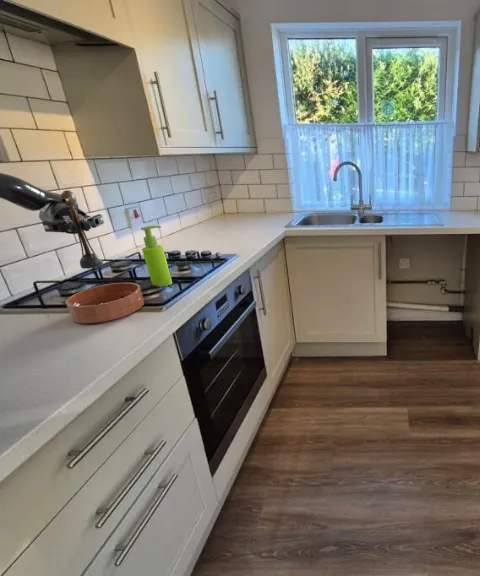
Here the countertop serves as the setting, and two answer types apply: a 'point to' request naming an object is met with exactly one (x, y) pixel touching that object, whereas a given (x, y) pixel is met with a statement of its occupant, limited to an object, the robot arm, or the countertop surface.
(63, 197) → the wooden tabletop sculpture
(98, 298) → the bowl
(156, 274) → the soap dispenser
